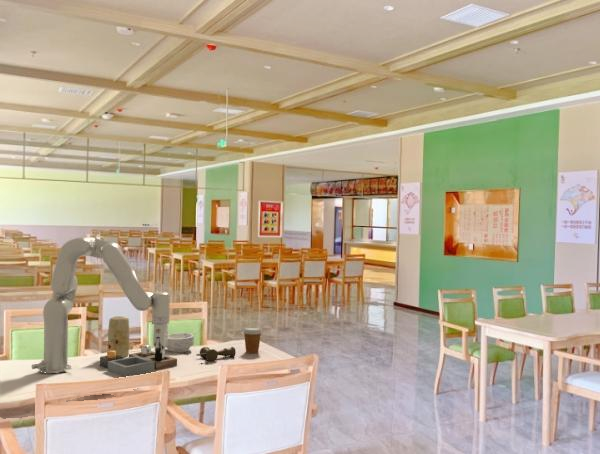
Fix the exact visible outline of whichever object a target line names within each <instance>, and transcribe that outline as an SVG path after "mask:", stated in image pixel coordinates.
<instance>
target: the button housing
mask: <svg viewBox="0 0 600 454" xmlns="http://www.w3.org/2000/svg"><path fill="white" fill-rule="evenodd" d="M118 359H123V357H121V356H118V355H116V358H111V359H109V358H107V355H103V356H102V355H101V356H100V357H99V367H101V368H105V369H106V370H108V361H112V360H118Z"/></svg>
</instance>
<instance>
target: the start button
mask: <svg viewBox="0 0 600 454" xmlns="http://www.w3.org/2000/svg"><path fill="white" fill-rule="evenodd" d="M106 356H107V358H109V359H111V358H116V351H115V350H110V351H109V350H107V351H106Z"/></svg>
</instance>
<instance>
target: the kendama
mask: <svg viewBox="0 0 600 454" xmlns="http://www.w3.org/2000/svg"><path fill="white" fill-rule="evenodd" d="M236 352H237V351H236V348H235V347H234V346H231V347H230V348H226V347H225V348H223V349H220V350H218V351H217V349H214V348H213V349H212V348H211V349H210V347H208V346H203V347H202V348H200V351H199V353H197V354H196V356H200V358H202V359H206V361H208V362H209V363H211V362H216V361H217V359H218V358H219V357H218V356H222V357H223V356H224V357H225V358H227V357H231V358H235V357H236Z"/></svg>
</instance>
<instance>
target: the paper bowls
mask: <svg viewBox="0 0 600 454" xmlns="http://www.w3.org/2000/svg"><path fill="white" fill-rule="evenodd" d="M194 337H195V336H194V334H192V333H189V332H187V333H184V332H175V333H168V343H167V344H166V345H165V348H166V349H167V351H169V352H174V353H177V354H181V353H186V352H188V351H189V350H190V349H191V347H192V346H194V343H195V338H194Z"/></svg>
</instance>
